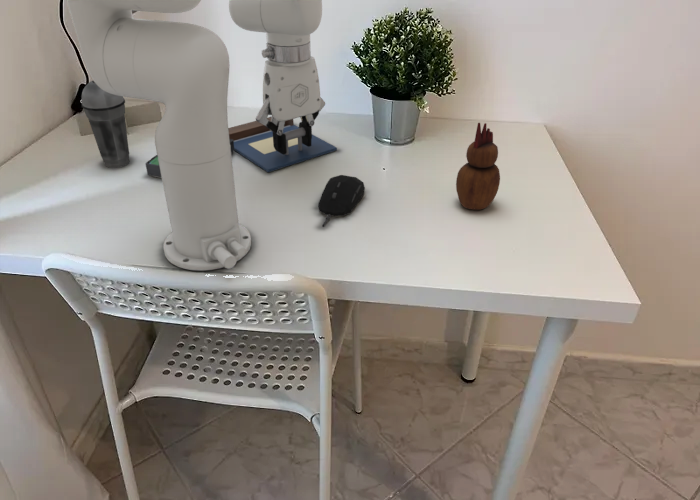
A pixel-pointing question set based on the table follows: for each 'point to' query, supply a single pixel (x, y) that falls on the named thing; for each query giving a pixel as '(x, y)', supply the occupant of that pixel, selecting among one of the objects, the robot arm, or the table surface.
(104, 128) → the beverage cup
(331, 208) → the gaming mouse
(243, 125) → the bar
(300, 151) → the sign
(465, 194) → the wooden figurine
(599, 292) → the table surface
